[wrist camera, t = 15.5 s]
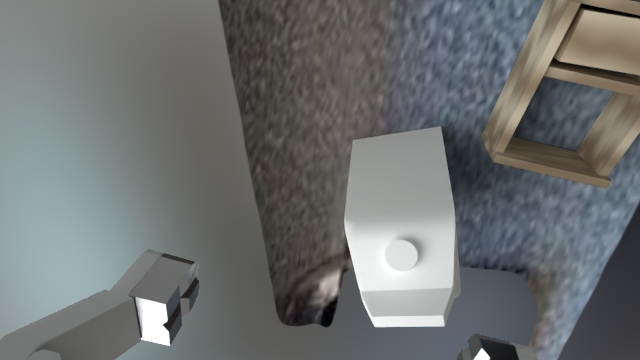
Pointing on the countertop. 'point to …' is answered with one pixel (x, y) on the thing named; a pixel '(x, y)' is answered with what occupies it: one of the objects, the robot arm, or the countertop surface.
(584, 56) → the offcut top
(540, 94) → the countertop surface
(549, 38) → the birch rack
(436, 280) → the milk
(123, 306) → the robot arm
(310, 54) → the countertop surface
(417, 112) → the countertop surface
